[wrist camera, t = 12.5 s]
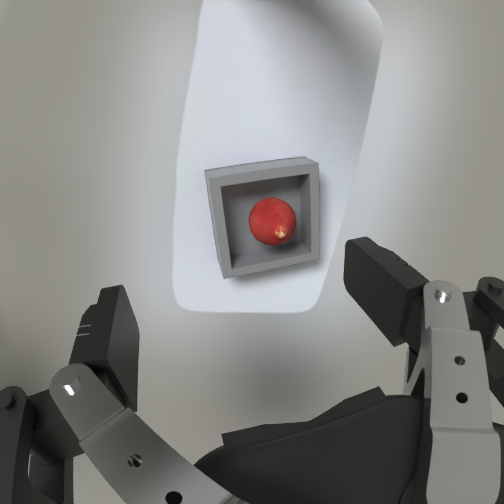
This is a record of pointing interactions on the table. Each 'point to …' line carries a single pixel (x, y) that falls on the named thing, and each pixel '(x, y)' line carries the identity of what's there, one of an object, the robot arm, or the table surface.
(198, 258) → the table surface
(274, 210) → the pomegranate
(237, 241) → the box
